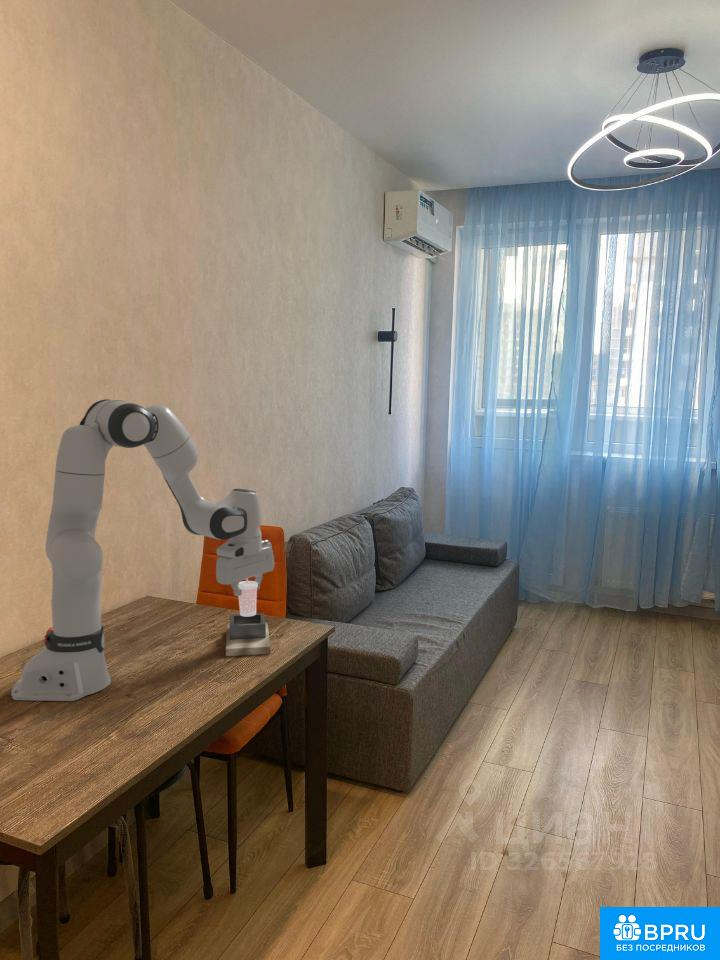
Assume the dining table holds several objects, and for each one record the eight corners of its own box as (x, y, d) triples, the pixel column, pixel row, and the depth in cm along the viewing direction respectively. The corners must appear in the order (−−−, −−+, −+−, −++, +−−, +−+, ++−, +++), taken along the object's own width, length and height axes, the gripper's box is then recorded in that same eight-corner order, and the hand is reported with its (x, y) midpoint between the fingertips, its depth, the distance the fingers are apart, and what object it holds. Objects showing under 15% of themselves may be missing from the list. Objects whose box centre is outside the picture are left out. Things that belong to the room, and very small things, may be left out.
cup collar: (229, 639, 210) (229, 626, 209) (230, 627, 220) (229, 614, 219) (265, 637, 212) (265, 624, 211) (264, 626, 221) (264, 613, 221)
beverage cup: (245, 609, 219) (243, 563, 217) (263, 612, 216) (261, 565, 214) (233, 615, 213) (231, 568, 211) (251, 618, 211) (249, 570, 209)
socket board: (226, 656, 203) (225, 649, 203) (227, 631, 223) (226, 624, 223) (270, 653, 205) (270, 646, 205) (267, 629, 225) (267, 622, 224)
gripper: (263, 537, 222) (264, 582, 224) (211, 550, 206) (213, 599, 208) (279, 540, 218) (279, 585, 220) (228, 553, 202) (229, 603, 204)
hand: (247, 592), depth 214 cm, fingers closed on beverage cup, 6 cm apart
